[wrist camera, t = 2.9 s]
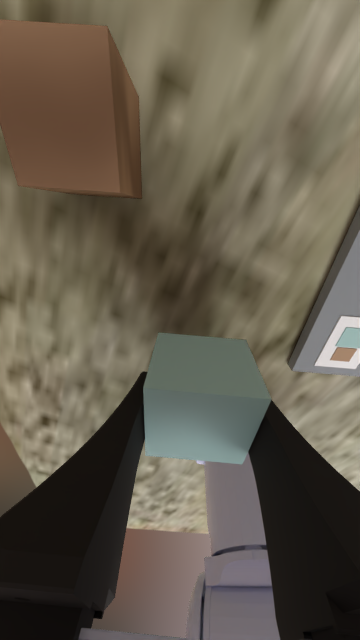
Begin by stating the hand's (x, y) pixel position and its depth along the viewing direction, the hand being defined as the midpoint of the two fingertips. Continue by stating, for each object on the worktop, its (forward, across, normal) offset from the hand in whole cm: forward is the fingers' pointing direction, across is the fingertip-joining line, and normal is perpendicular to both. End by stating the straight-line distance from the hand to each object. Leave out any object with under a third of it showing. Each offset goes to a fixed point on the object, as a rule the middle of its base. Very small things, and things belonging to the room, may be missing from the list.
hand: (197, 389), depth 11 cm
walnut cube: (+5, +6, -11) cm, 14 cm away
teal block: (+2, 0, 0) cm, 2 cm away
